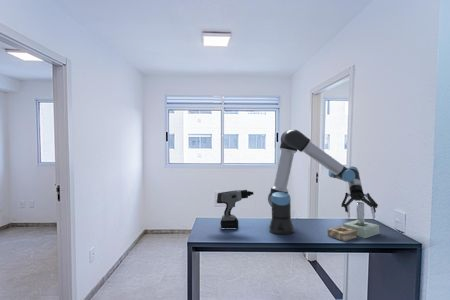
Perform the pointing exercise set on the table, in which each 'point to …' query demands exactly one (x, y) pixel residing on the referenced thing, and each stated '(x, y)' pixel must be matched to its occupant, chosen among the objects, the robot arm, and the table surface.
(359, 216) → the cylinder
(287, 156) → the robot arm
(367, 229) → the sage rack
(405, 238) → the table surface
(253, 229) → the table surface
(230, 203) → the cordless drill
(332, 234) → the maple sleeve
